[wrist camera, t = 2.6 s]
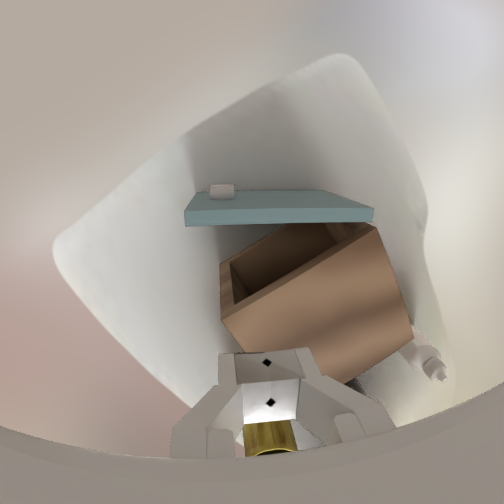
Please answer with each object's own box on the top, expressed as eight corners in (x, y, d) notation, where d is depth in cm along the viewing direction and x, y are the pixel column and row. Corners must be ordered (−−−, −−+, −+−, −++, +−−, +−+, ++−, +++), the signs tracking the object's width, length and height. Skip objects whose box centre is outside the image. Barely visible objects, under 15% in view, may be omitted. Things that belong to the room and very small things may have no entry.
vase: (241, 353, 37) (255, 442, 23) (286, 362, 38) (314, 446, 24) (227, 387, 38) (234, 473, 25) (269, 394, 39) (288, 476, 26)
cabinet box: (363, 287, 36) (414, 338, 24) (272, 341, 37) (293, 410, 25) (323, 202, 32) (376, 227, 21) (219, 264, 33) (220, 320, 21)
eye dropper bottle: (404, 308, 38) (455, 355, 26) (415, 332, 39) (461, 379, 28) (380, 327, 38) (425, 380, 27) (393, 350, 40) (434, 401, 28)
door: (322, 199, 31) (372, 222, 21) (197, 202, 30) (185, 226, 19) (323, 180, 31) (374, 192, 20) (196, 181, 29) (183, 194, 19)
